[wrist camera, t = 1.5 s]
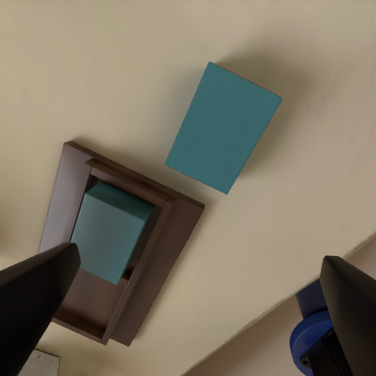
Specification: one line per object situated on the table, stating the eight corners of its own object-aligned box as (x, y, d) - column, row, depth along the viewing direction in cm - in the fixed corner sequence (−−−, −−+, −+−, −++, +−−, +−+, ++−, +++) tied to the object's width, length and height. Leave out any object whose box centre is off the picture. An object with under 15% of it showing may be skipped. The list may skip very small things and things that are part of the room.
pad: (275, 96, 20) (283, 97, 17) (227, 181, 23) (227, 194, 20) (211, 64, 20) (209, 61, 17) (172, 155, 23) (164, 164, 20)
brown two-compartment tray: (205, 204, 24) (201, 225, 20) (131, 339, 33) (119, 371, 29) (70, 140, 24) (41, 150, 20) (32, 294, 32) (7, 321, 29)
